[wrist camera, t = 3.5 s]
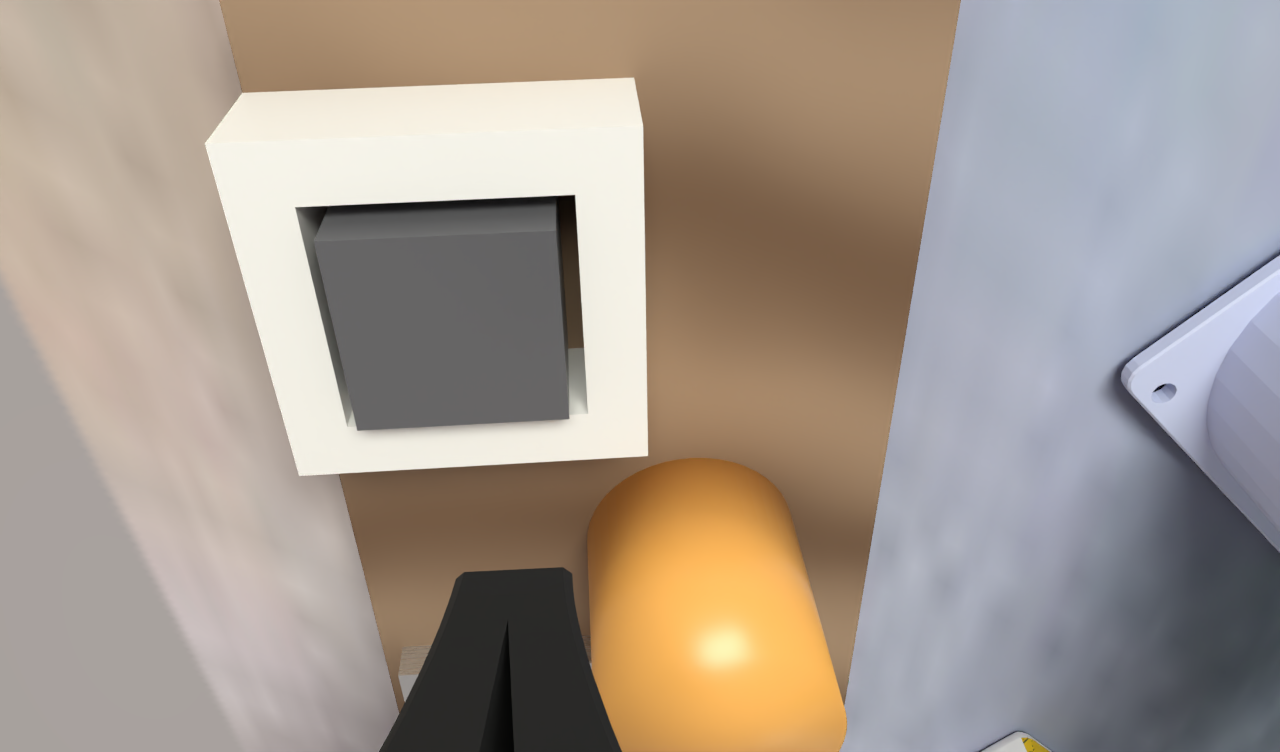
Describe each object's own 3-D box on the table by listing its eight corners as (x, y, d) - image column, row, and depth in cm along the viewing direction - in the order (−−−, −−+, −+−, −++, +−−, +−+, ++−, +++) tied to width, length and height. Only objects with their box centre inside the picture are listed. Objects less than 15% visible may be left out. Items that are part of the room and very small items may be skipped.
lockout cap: (833, 527, 22) (898, 727, 17) (687, 633, 23) (716, 837, 19) (691, 421, 20) (728, 620, 16) (544, 545, 21) (541, 753, 17)
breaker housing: (640, 388, 19) (648, 455, 17) (321, 405, 19) (299, 475, 17) (634, 77, 16) (642, 125, 14) (242, 92, 15) (205, 143, 14)
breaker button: (567, 337, 18) (569, 419, 16) (378, 347, 18) (356, 430, 16) (555, 162, 16) (555, 230, 14) (342, 171, 16) (313, 241, 14)
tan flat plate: (813, 773, 29) (825, 820, 28) (438, 800, 29) (433, 849, 28) (935, -58, 16) (966, -35, 15) (243, -35, 16) (216, -10, 14)
